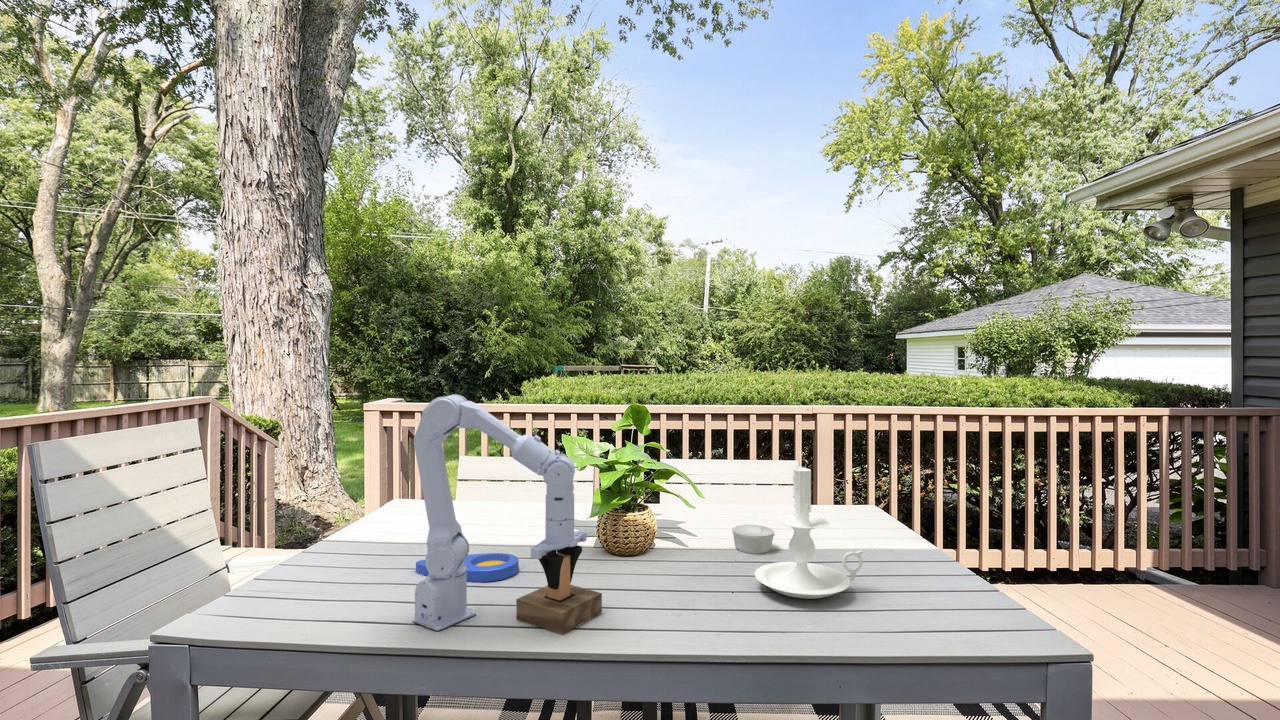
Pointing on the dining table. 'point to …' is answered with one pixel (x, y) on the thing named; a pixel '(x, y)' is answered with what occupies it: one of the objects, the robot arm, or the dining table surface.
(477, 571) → the location marker
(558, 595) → the peg
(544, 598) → the socket block
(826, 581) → the candlestick
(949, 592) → the dining table surface
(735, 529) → the ramekin
